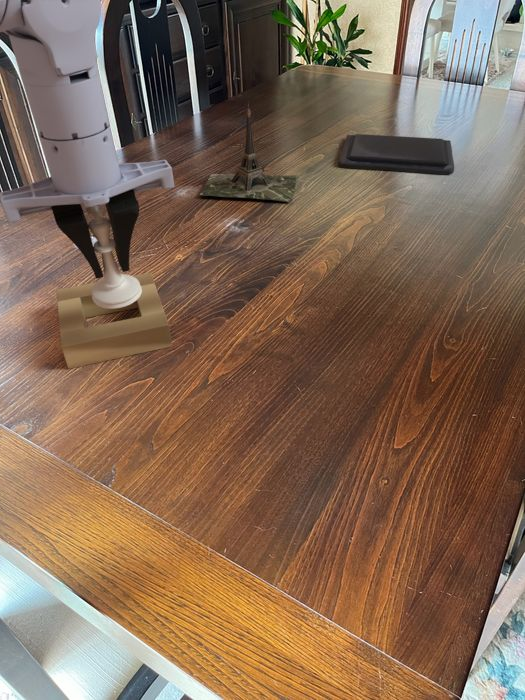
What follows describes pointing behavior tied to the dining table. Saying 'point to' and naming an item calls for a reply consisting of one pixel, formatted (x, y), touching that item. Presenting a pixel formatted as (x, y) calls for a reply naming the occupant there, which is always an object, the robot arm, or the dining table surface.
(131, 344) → the socket
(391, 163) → the black flat block
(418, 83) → the dining table surface
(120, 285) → the chess piece
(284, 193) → the eiffel tower figurine
